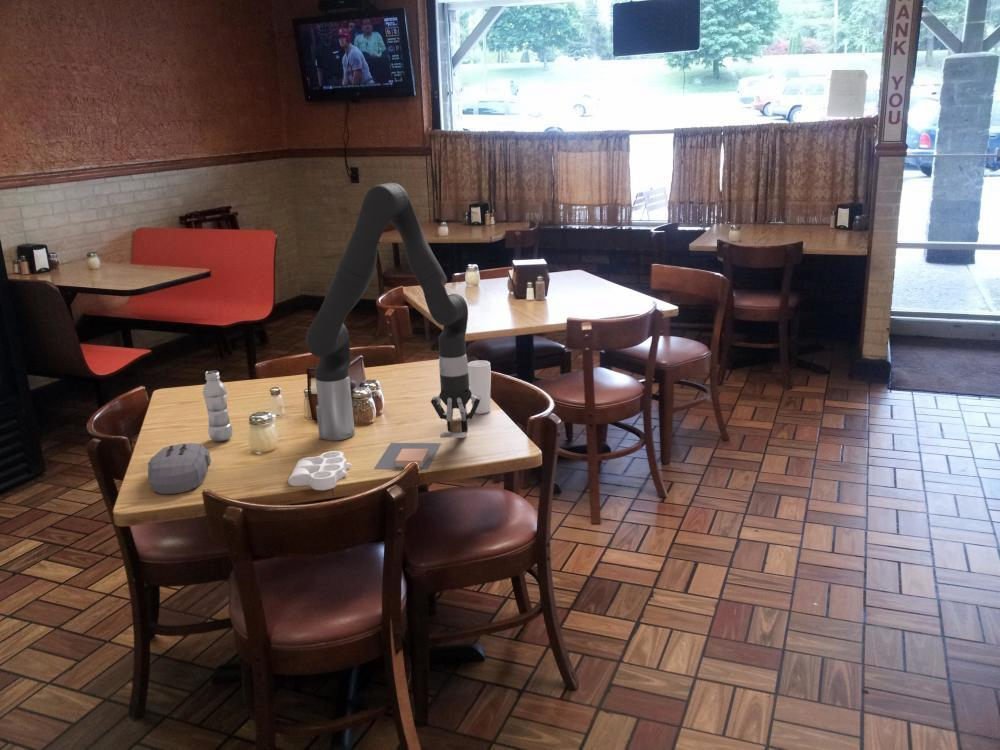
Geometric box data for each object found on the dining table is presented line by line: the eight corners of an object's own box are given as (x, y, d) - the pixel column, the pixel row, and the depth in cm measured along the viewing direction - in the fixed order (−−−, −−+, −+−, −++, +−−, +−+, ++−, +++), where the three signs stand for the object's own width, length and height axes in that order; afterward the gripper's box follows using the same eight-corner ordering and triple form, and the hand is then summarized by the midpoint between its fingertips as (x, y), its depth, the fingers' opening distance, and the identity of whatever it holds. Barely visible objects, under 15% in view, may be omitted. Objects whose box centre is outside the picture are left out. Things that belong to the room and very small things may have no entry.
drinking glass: (490, 415, 260) (487, 366, 256) (467, 415, 262) (464, 366, 257) (494, 408, 267) (492, 360, 262) (473, 407, 268) (470, 359, 264)
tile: (402, 455, 232) (395, 467, 224) (402, 448, 231) (395, 460, 224) (429, 455, 231) (422, 467, 223) (428, 448, 230) (422, 460, 223)
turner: (440, 437, 228) (440, 422, 228) (452, 432, 245) (452, 418, 245) (463, 437, 227) (462, 421, 227) (474, 432, 244) (473, 418, 244)
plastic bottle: (223, 434, 255) (213, 367, 250) (238, 438, 252) (229, 371, 246) (204, 441, 250) (194, 373, 245) (220, 445, 247) (209, 377, 241)
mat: (373, 470, 224) (373, 468, 224) (391, 444, 241) (390, 442, 241) (427, 471, 223) (427, 469, 222) (441, 444, 240) (441, 443, 239)
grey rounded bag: (156, 469, 233) (142, 500, 214) (151, 439, 230) (136, 469, 211) (215, 462, 235) (206, 493, 216) (211, 433, 233) (201, 461, 214)
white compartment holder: (301, 464, 232) (357, 461, 232) (286, 493, 215) (346, 490, 215) (299, 452, 231) (355, 449, 231) (284, 480, 214) (344, 477, 214)
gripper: (424, 375, 229) (429, 438, 234) (478, 375, 227) (481, 438, 232) (430, 367, 236) (435, 428, 241) (482, 366, 234) (486, 428, 239)
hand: (458, 432), depth 236 cm, fingers closed on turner, 2 cm apart
